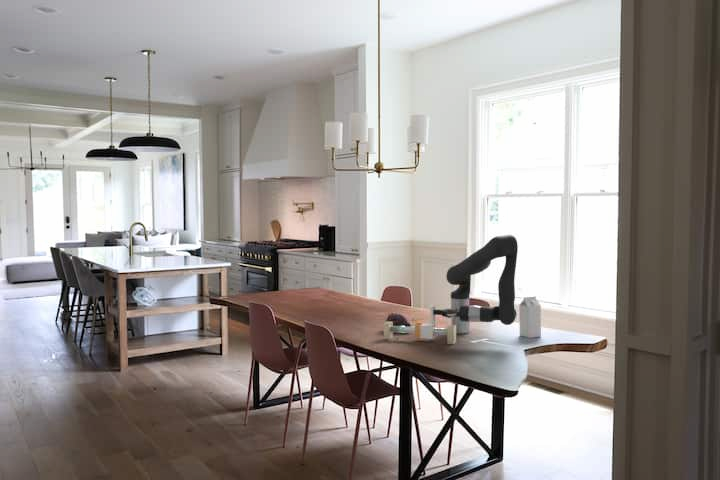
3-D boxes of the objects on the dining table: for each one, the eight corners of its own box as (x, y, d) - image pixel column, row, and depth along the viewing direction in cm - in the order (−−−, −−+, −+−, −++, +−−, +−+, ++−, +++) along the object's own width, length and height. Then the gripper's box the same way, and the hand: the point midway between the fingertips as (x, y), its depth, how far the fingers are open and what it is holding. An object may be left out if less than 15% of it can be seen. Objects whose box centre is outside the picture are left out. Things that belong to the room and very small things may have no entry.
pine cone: (418, 331, 294) (415, 317, 289) (405, 343, 289) (401, 329, 284) (394, 318, 306) (390, 304, 301) (381, 329, 302) (377, 315, 296)
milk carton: (519, 335, 279) (519, 296, 279) (531, 334, 282) (531, 295, 281) (528, 338, 273) (528, 298, 272) (541, 336, 275) (540, 297, 274)
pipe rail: (457, 340, 270) (456, 324, 270) (453, 345, 262) (452, 327, 262) (388, 336, 283) (388, 320, 283) (382, 340, 275) (382, 324, 274)
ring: (424, 336, 276) (423, 320, 275) (419, 340, 268) (419, 323, 268) (419, 336, 277) (418, 320, 276) (414, 340, 269) (414, 323, 269)
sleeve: (435, 336, 273) (435, 304, 272) (432, 338, 267) (432, 306, 266) (423, 335, 275) (423, 304, 274) (420, 338, 269) (419, 306, 269)
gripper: (473, 303, 269) (437, 302, 275) (468, 307, 257) (430, 306, 263) (473, 319, 269) (437, 317, 276) (468, 324, 257) (430, 322, 263)
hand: (433, 312), depth 269 cm, fingers closed
